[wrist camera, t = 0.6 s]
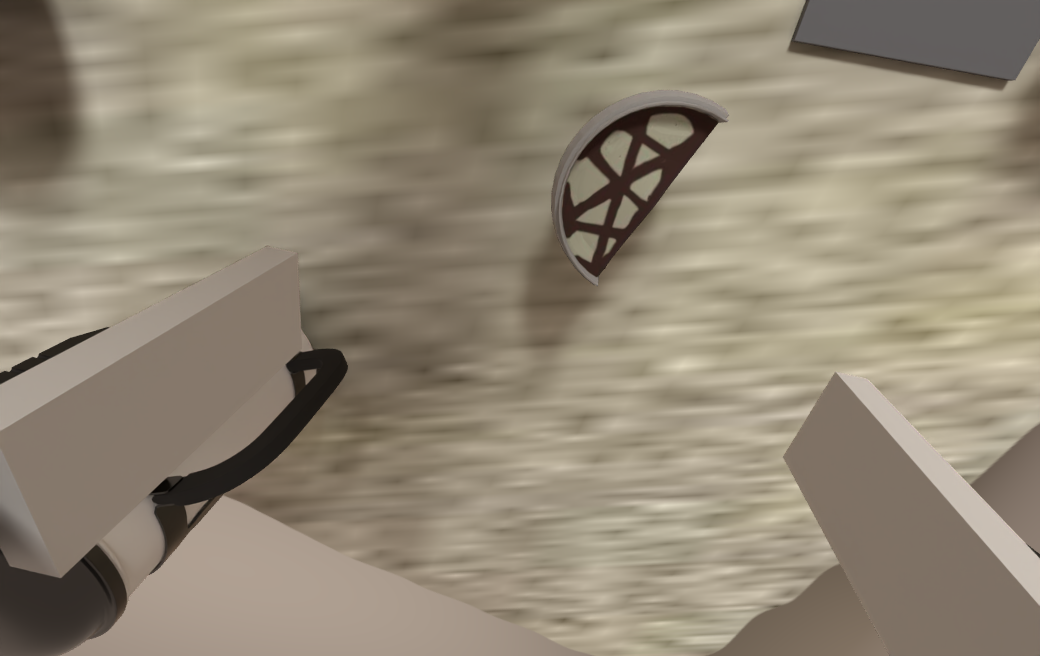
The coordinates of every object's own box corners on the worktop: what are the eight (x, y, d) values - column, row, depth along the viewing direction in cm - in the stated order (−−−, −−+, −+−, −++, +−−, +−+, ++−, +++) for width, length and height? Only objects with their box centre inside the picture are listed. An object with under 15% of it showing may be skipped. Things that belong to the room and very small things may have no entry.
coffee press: (318, 431, 51) (39, 798, 25) (180, 351, 49) (-300, 671, 22) (389, 320, 44) (98, 679, 17) (231, 218, 41) (-405, 463, 15)
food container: (624, 49, 32) (640, 36, 23) (695, 103, 33) (736, 110, 24) (526, 202, 37) (509, 238, 29) (589, 244, 38) (592, 292, 30)
